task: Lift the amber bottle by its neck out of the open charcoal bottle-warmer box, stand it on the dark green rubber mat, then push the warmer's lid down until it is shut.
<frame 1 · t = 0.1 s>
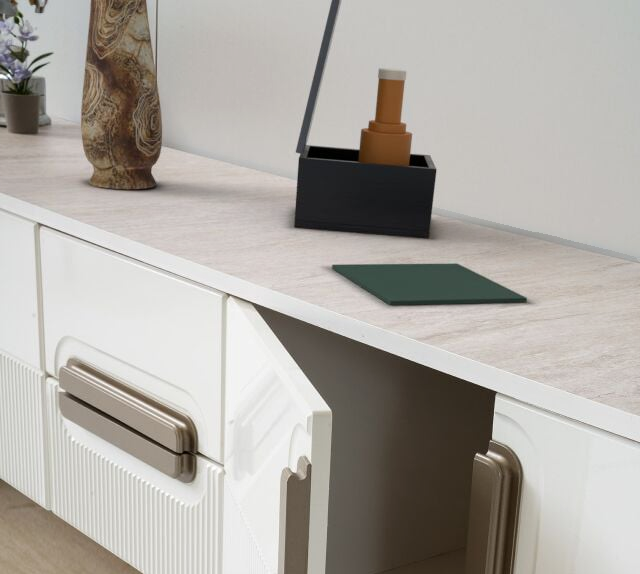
vase: (120, 185, 148), on the tv stand
mat: (426, 284, 108), on the tv stand
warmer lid: (319, 74, 129), point 16 cm above the tv stand, hinge at 80.0°
warmer: (361, 223, 135), on the tv stand
bottle: (378, 217, 135), point 1 cm above the tv stand, touching warmer
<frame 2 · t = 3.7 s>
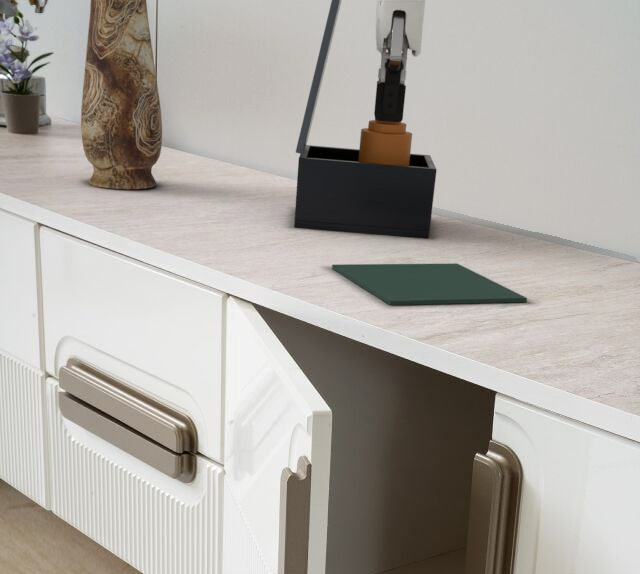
hand: (388, 117, 131), 12 cm above the tv stand, tool pointing down, fingers closed on bottle, 3 cm apart
bottle: (378, 217, 135), point 1 cm above the tv stand, touching gripper, warmer
everything else where it was.
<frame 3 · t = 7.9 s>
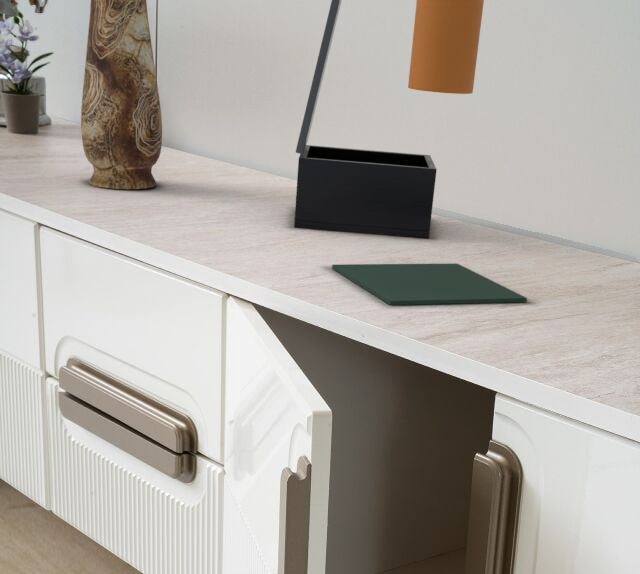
bottle: (440, 90, 104), point 17 cm above the tv stand, touching gripper
everything else where it was.
when the fingers open (12 cm above the tv stand, at t = 12.1 s): bottle stays where it is, resting on mat.
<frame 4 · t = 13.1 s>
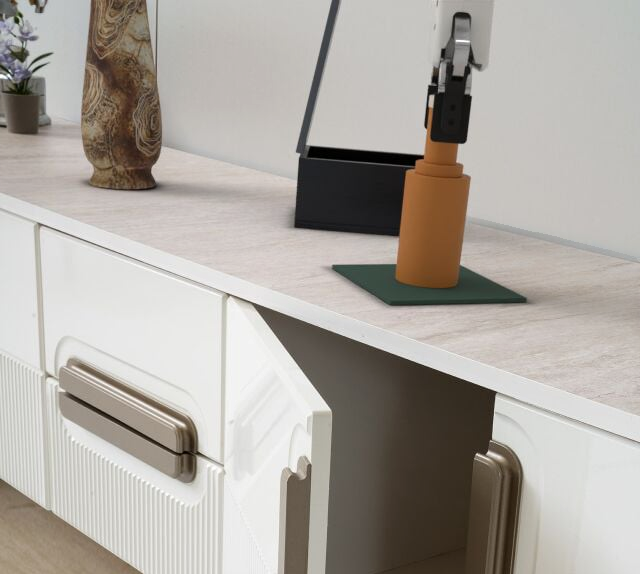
hand: (444, 136, 103), 14 cm above the tv stand, tool pointing down, fingers open, 9 cm apart
bottle: (426, 280, 108), resting on mat
everything else where it was.
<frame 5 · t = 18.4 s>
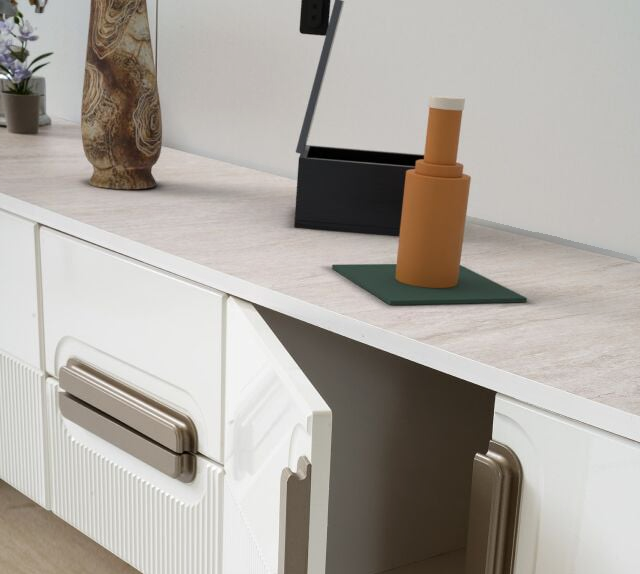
hand: (313, 34, 127), 21 cm above the tv stand, tool pointing down, fingers closed
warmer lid: (320, 75, 129), point 16 cm above the tv stand, hinge at 78.8°, touching gripper
everything else where it was.
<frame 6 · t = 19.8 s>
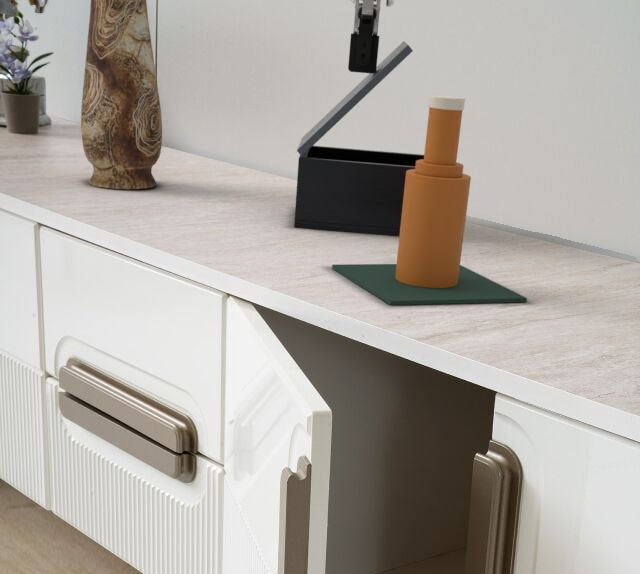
hand: (361, 71, 129), 17 cm above the tv stand, tool pointing down, fingers closed
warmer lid: (354, 97, 130), point 14 cm above the tv stand, hinge at 46.7°, touching gripper
everything else where it was.
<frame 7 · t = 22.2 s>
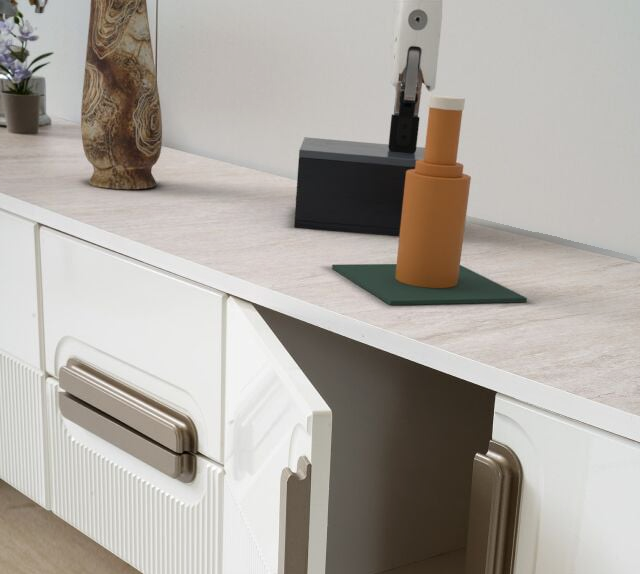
hand: (401, 151, 132), 9 cm above the tv stand, tool pointing down, fingers closed
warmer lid: (371, 152, 132), point 8 cm above the tv stand, hinge at -0.2°, touching gripper, warmer
everything else where it was.
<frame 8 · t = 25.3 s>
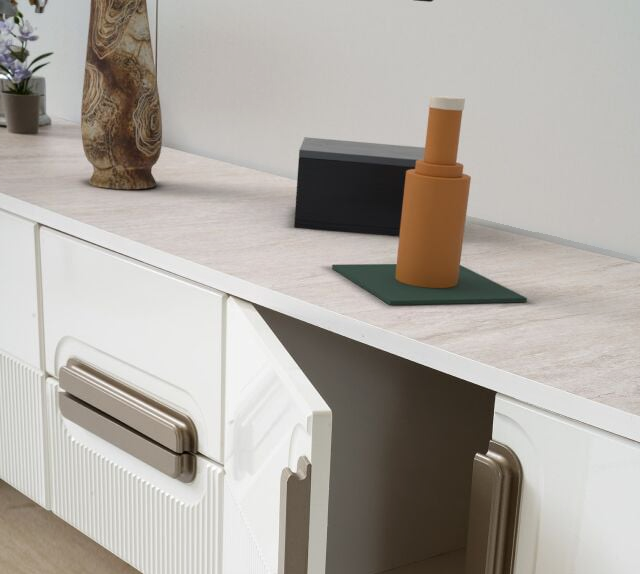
hand: (419, 0, 126), 25 cm above the tv stand, tool pointing down, fingers closed
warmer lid: (371, 152, 132), point 8 cm above the tv stand, hinge at -0.2°, touching warmer
everything else where it was.
at the end: bottle inside the target area on the mat (0.0 cm from its centre), point 0.4 cm above the mat's base; bottle tilted 0°; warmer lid at +0° (first picture: +80°) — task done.
